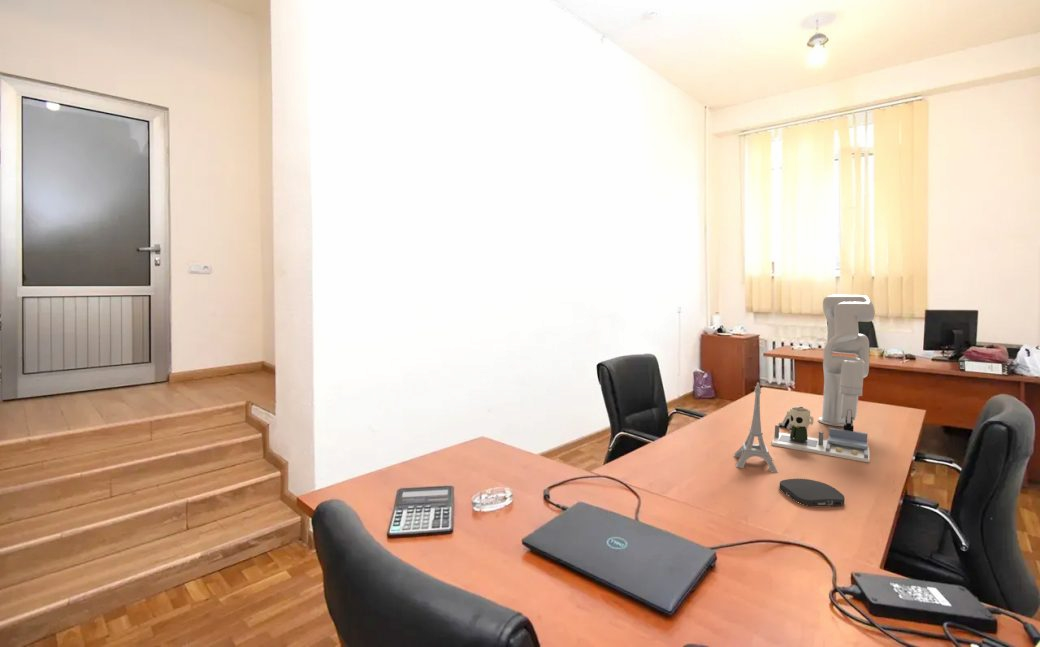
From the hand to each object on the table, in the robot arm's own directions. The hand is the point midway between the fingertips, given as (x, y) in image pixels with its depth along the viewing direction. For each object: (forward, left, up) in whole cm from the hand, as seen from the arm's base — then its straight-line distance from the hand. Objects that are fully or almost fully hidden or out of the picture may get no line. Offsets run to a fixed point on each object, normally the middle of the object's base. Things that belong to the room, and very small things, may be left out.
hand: (848, 435), depth 192 cm
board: (+10, -9, -4) cm, 14 cm away
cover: (+6, 0, -2) cm, 6 cm away
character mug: (+9, -16, -3) cm, 19 cm away
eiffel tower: (+43, -27, -5) cm, 51 cm away
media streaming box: (+62, -8, -5) cm, 62 cm away
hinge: (-19, -21, -5) cm, 29 cm away
